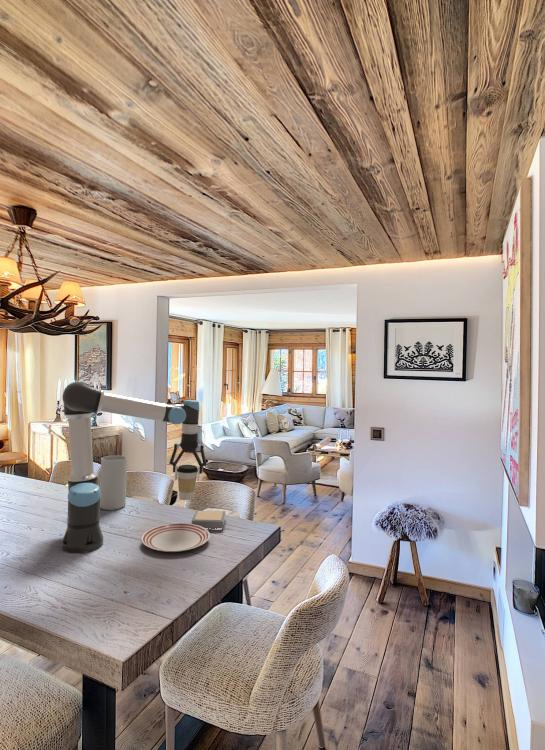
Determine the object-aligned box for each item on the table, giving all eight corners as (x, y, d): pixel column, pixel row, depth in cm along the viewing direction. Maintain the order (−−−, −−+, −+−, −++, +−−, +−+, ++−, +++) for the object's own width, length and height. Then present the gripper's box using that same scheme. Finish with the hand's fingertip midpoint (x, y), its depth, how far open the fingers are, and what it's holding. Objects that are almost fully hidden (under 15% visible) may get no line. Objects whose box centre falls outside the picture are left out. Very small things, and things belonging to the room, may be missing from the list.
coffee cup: (198, 495, 201) (199, 464, 201) (194, 501, 191) (196, 469, 191) (177, 494, 201) (179, 464, 201) (173, 500, 191) (175, 468, 191)
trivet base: (222, 530, 186) (223, 521, 186) (191, 529, 185) (191, 520, 185) (225, 519, 200) (225, 510, 200) (196, 518, 199) (196, 510, 199)
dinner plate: (211, 555, 161) (212, 546, 161) (138, 559, 155) (138, 550, 155) (207, 529, 187) (207, 521, 187) (144, 531, 182) (144, 524, 182)
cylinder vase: (109, 512, 204) (111, 461, 204) (94, 507, 211) (95, 458, 211) (130, 505, 215) (132, 457, 215) (114, 501, 221) (116, 454, 221)
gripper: (214, 432, 200) (211, 479, 200) (167, 430, 199) (165, 476, 199) (212, 435, 193) (210, 482, 192) (164, 432, 192) (161, 480, 192)
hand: (187, 479), depth 196 cm, fingers closed on coffee cup, 10 cm apart
